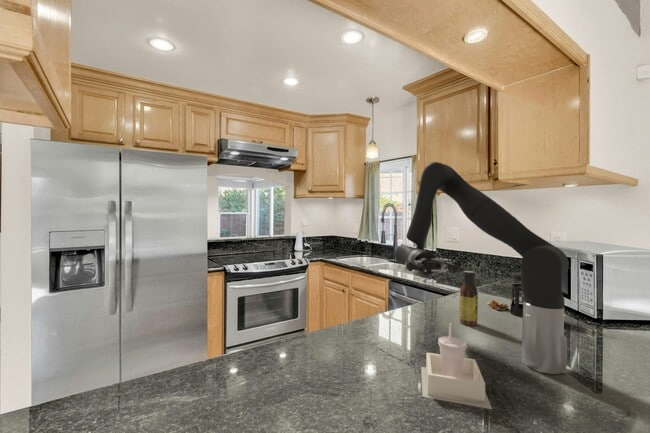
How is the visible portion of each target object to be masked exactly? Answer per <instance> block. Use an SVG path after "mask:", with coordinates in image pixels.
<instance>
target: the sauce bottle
mask: <svg viewBox="0 0 650 433" xmlns="http://www.w3.org/2000/svg"><path fill="white" fill-rule="evenodd" d="M462 276H463V284H462V285H461V287H460V290H459V292H460V294H459V322H460V323H461V324H463V325H465V326H470V327H471V326H472V327H473V326H476V325H477V324H478V319H479V315H478V314H479V313H478V312H479V311H478V310H479V301H478V300H479V299H478V298H479V293H478V292H479V291H478V289H477V286H476V283H475V276H476V272H475V271H471V270H463V272H462Z"/></svg>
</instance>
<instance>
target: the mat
mask: <svg viewBox="0 0 650 433" xmlns="http://www.w3.org/2000/svg"><path fill="white" fill-rule="evenodd" d="M420 370H421V371H420V372H421V394H422V395H421V397H422V398H428V399H433V400H438V401H443V402H449V403H456V404H462V405H467V406H471V407H478V408H484V409H488V410H492V409H493V407H492V405H491V402H490V400H489V398H488V394H487V393H486V391H485V405H484V404H478V403H473V402H467V401H461V400H456V399H450V398H445V397H439V396H434V395H428V390H427V375H426V366H421V367H420Z"/></svg>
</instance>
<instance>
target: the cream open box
mask: <svg viewBox="0 0 650 433" xmlns="http://www.w3.org/2000/svg"><path fill="white" fill-rule="evenodd" d="M425 357H426V360H425V361H426V362H425V365H426V366H425V367H426V375H427V390H428V395H434V396H439V397H445V398H450V399H456V400H461V401H467V402H473V403H478V404H484V405H485V392H486V382H485V380H484V378H483V375H482V373H481V370H480V368H479V365H478V363H477V360H476V359H474V358H468V357H464V360H463V366H462V373H461V378H457V377H451V376H444V375H442V365H441V355H440V353H432V352H426V356H425Z"/></svg>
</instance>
